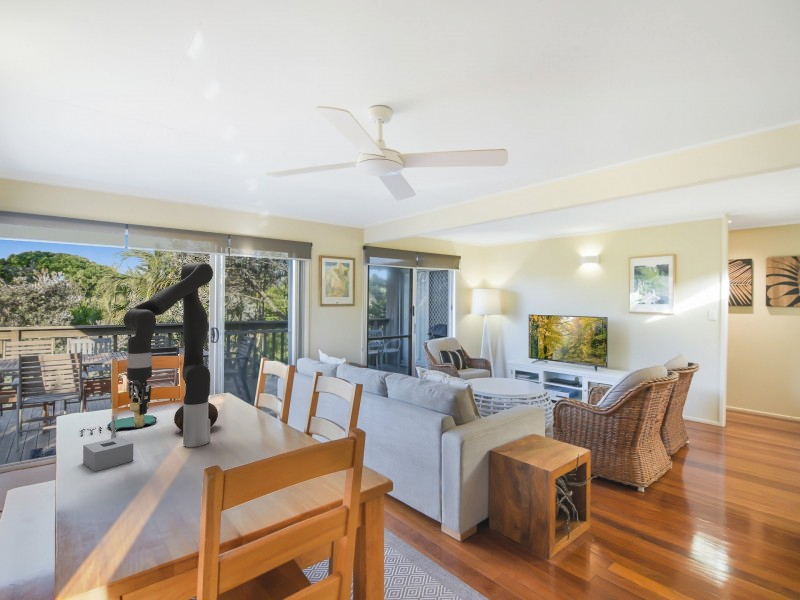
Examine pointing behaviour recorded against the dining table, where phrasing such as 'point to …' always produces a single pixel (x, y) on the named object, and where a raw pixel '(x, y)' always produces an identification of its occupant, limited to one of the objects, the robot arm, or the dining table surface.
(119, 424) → the cutlery set
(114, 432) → the tow hook
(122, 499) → the dining table surface
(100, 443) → the slate block
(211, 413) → the dark brown ellipsoid
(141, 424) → the brass knob
